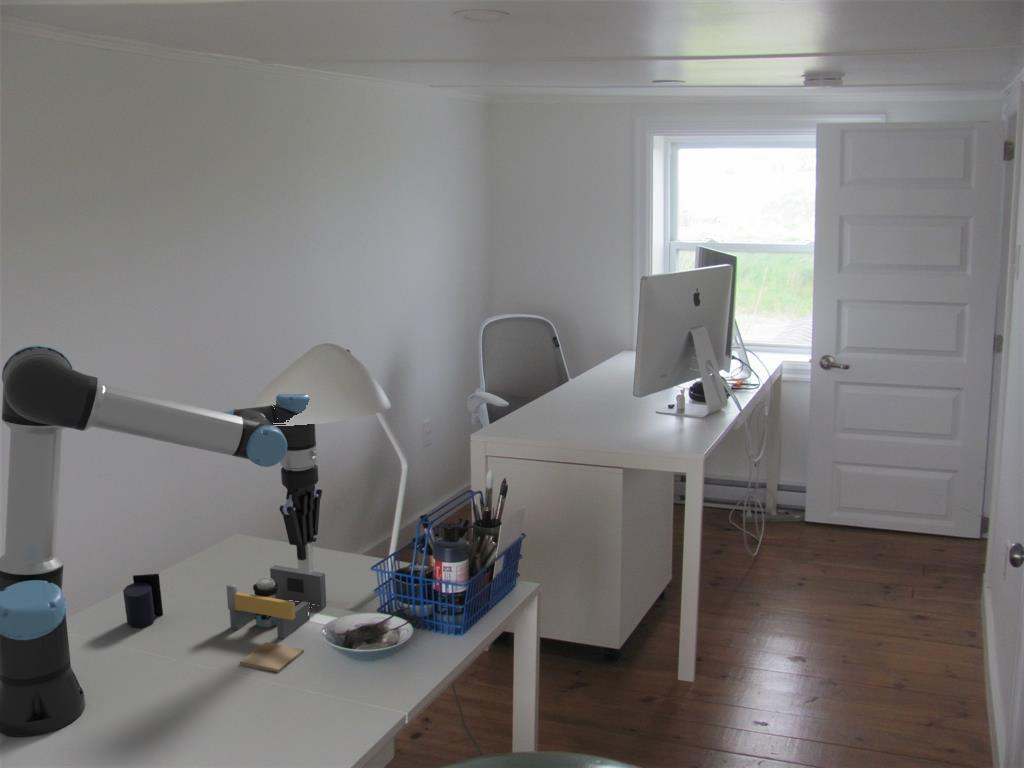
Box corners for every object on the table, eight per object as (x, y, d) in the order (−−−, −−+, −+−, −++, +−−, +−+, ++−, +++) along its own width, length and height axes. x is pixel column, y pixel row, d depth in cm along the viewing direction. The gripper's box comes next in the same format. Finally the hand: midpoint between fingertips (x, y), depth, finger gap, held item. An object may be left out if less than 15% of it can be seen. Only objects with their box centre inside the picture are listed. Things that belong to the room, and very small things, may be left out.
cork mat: (278, 672, 198) (278, 669, 197) (239, 664, 201) (239, 661, 201) (303, 652, 206) (303, 649, 206) (266, 644, 209) (265, 642, 209)
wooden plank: (225, 608, 215) (224, 587, 214) (232, 604, 217) (230, 583, 216) (290, 620, 210) (289, 598, 209) (296, 616, 212) (295, 594, 211)
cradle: (283, 639, 211) (282, 603, 210) (228, 628, 216) (226, 593, 214) (326, 606, 227) (325, 573, 225) (273, 597, 232) (272, 564, 230)
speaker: (139, 611, 224) (135, 569, 221) (163, 614, 223) (160, 572, 220) (121, 629, 217) (117, 586, 213) (146, 633, 216) (142, 590, 213)
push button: (285, 617, 222) (283, 574, 220) (287, 627, 217) (285, 583, 215) (254, 621, 220) (251, 578, 218) (255, 631, 215) (253, 587, 213)
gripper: (297, 476, 203) (304, 586, 208) (331, 458, 215) (337, 562, 220) (265, 473, 205) (273, 581, 210) (300, 455, 217) (307, 558, 222)
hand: (306, 571), depth 215 cm, fingers closed
